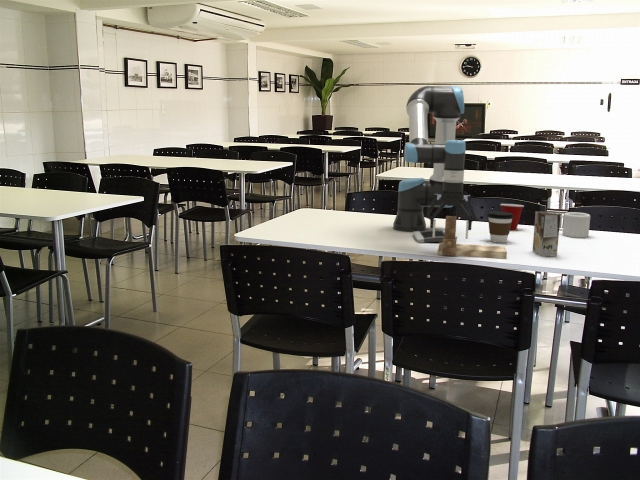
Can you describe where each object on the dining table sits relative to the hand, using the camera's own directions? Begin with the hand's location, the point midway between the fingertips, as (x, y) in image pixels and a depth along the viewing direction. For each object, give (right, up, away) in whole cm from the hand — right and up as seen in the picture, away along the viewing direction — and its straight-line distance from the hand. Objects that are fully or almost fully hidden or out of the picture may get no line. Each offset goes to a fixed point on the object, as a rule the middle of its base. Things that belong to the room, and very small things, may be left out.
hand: (450, 237), depth 236 cm
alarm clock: (-2, -1, +26) cm, 26 cm away
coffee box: (+37, -6, +1) cm, 37 cm away
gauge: (0, -6, 0) cm, 6 cm away
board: (+8, -6, -1) cm, 10 cm away
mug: (+63, +1, +39) cm, 74 cm away
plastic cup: (+39, +4, +52) cm, 65 cm away
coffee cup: (+26, -2, +24) cm, 35 cm away
